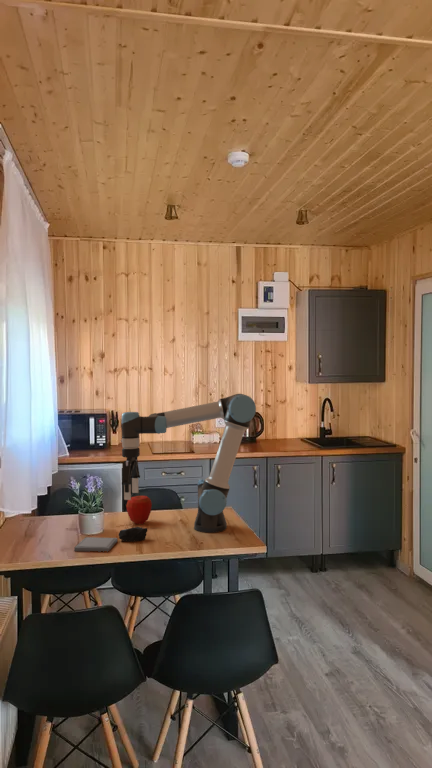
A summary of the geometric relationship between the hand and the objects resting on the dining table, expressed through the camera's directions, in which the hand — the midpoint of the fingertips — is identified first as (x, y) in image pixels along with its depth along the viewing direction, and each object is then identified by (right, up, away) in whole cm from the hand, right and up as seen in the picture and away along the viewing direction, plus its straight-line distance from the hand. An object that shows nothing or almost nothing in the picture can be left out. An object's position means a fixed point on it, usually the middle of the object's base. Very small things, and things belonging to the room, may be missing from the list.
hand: (131, 496), depth 244 cm
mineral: (+1, -19, 0) cm, 19 cm away
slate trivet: (-13, -19, -10) cm, 25 cm away
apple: (0, -18, +25) cm, 31 cm away
